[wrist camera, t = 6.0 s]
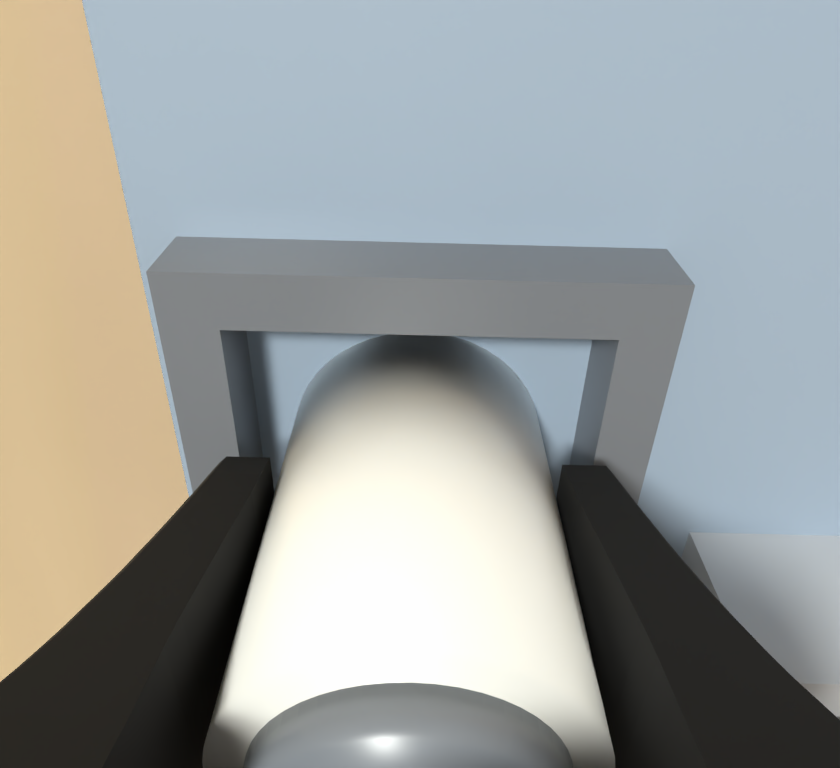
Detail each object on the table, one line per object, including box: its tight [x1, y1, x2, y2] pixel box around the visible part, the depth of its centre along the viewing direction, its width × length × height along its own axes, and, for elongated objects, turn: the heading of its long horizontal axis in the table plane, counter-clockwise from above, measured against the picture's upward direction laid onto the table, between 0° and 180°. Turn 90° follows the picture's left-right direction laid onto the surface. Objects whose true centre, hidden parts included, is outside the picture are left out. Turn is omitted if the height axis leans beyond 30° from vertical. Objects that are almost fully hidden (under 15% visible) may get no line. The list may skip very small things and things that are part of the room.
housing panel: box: [82, 0, 840, 717], centre depth 12 cm, size 16×22×4 cm
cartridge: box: [202, 334, 615, 768], centre depth 9 cm, size 4×4×6 cm
